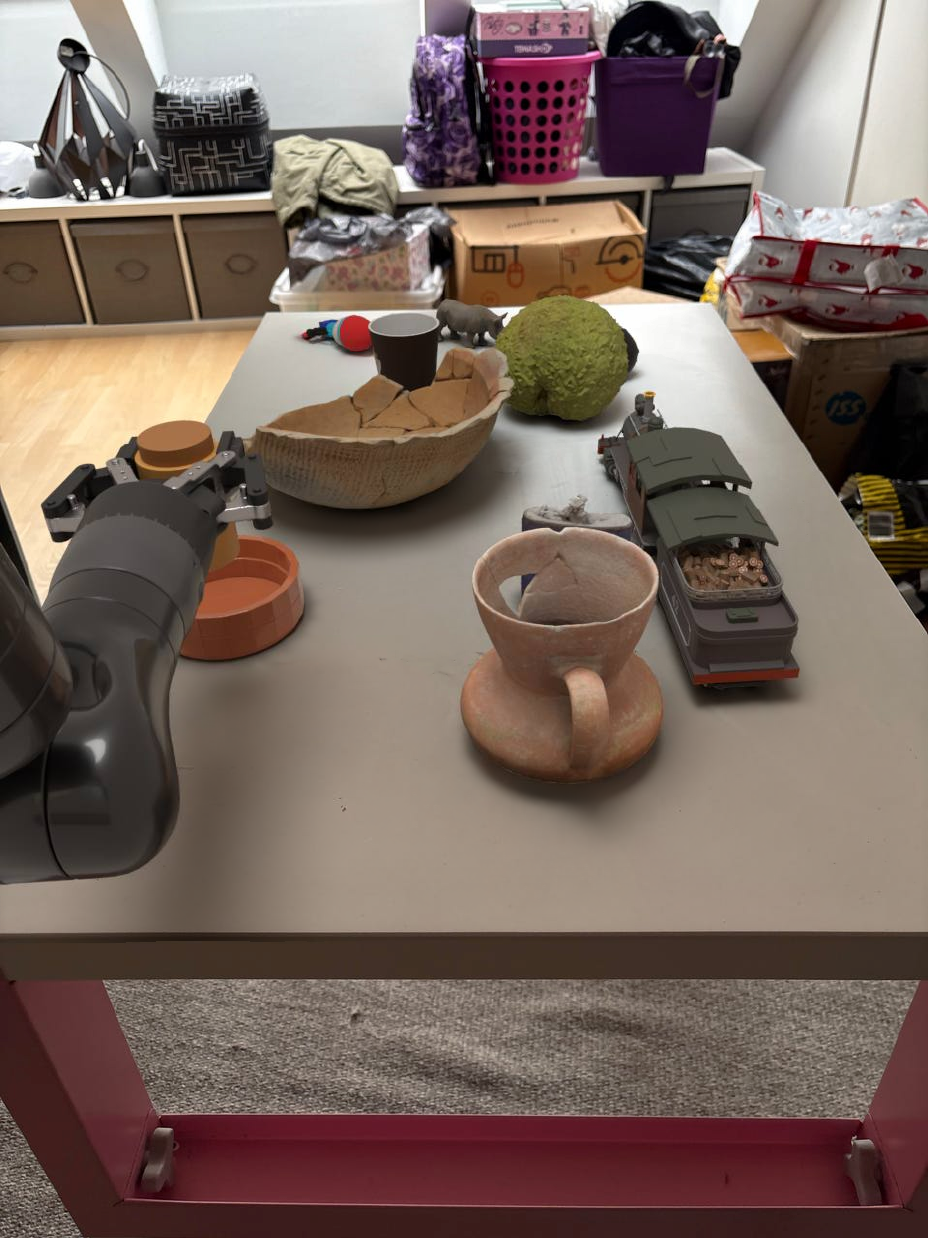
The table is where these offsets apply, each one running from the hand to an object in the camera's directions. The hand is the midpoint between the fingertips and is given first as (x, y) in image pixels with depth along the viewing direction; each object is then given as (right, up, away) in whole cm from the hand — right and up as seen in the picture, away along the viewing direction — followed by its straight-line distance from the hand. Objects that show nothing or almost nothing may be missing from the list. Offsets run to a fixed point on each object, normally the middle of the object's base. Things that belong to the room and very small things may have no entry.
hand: (185, 446), depth 67 cm
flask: (+29, -11, +18) cm, 35 cm away
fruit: (+31, +13, +51) cm, 62 cm away
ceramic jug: (+26, -21, +4) cm, 34 cm away
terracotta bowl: (-1, -12, +18) cm, 21 cm away
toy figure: (+2, +28, +74) cm, 79 cm away
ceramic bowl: (+10, +2, +37) cm, 39 cm away
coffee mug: (+13, +16, +57) cm, 60 cm away
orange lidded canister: (0, -7, +2) cm, 8 cm away
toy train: (+39, -6, +24) cm, 46 cm away
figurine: (+38, +23, +65) cm, 79 cm away
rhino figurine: (+21, +27, +71) cm, 79 cm away
